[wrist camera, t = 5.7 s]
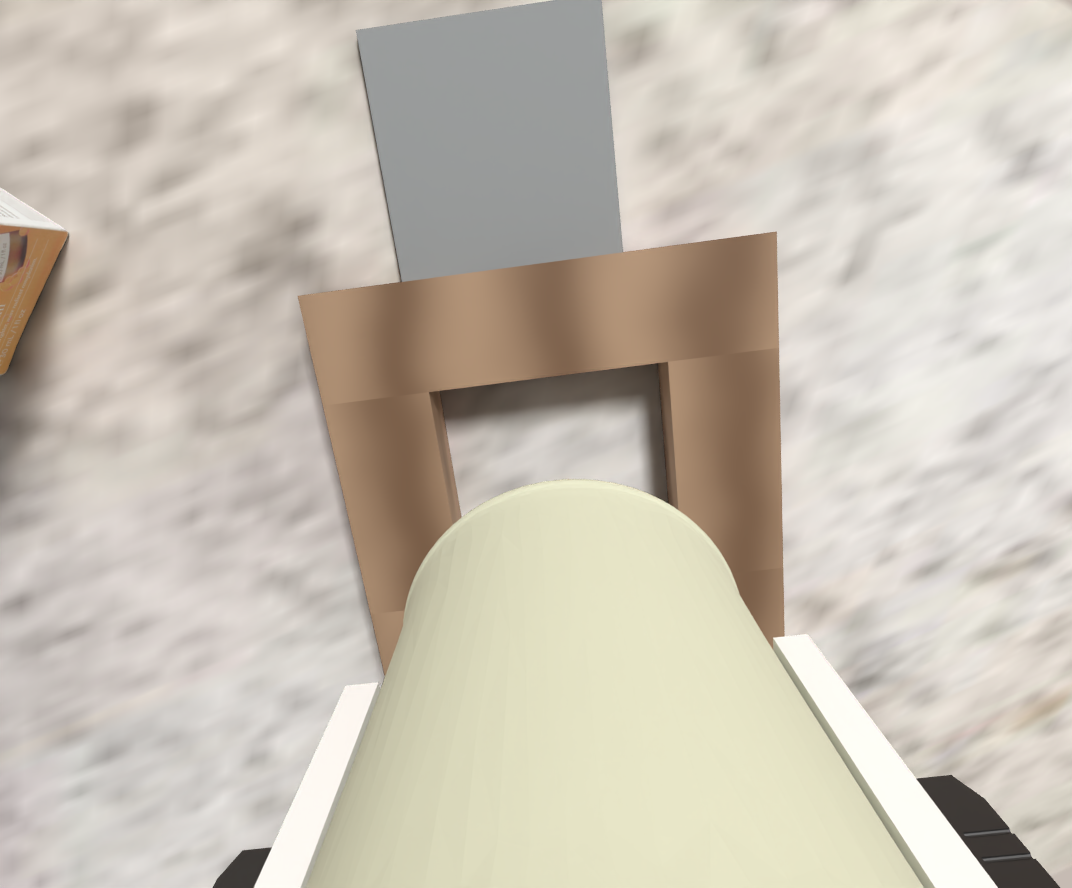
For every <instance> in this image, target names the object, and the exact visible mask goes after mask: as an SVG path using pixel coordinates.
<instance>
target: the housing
mask: <svg viewBox="0 0 1072 888" xmlns="http://www.w3.org/2000/svg"><path fill="white" fill-rule="evenodd" d="M298 299H299V304H300V308H301V312H302V317H303V321H304V326H305V330H306V334H307V339H308V343H309V347H310V352H311V356H312V360H313V365H314V369H315V374H316V378H317V382H318V387H319V391H320V395H321V400H322V404H323V408H324V413H325V417H326V422H327V426H328V430H329V435H330V439H331V443H332V448H333V452H334V456H335V461H336V465H337V470H338V474H339V478H340V483H341V487H342V491H343V496H344V500H345V504H346V509H347V513H348V518H349V522H350V526H351V531H352V535H353V539H354V544H355V548H356V552H357V557H358V561H359V566H360V570H361V574H362V579H363V583H364V587H365V592H366V596H367V600H368V605H369V609H370V614H371V618H372V622H373V627H374V631H375V635H376V640H377V644H378V648H379V653H380V657H381V662H382V666H383V670H384V675H386V673H387V670H388V667H389V664H390V662H391V659H392V656H393V653H394V650H395V648H396V645H397V642H398V639H399V636H400V633H401V630H402V627H403V619H404V612H405V607H406V602H407V598H408V594H409V591H410V588H411V585H412V582H413V580H414V577H415V575H416V573H417V571H418V569H419V567H420V565H421V563H422V562H423V560H424V558H425V557H426V555H427V554H428V552H429V551H430V550H431V548H432V547H433V546H434V544H435V543H436V542H437V541H438V540H439V538H440V537H441V536H442V535H443V534H444V533H445V532H446V531H447V530H448V529H449V528H450V527H451V526H452V525H453V524H454V523H456V522H457V521H458V520H459V519H460V518H461V512H460V506H459V501H458V495H457V489H456V483H455V478H454V472H453V466H452V460H451V455H450V449H449V443H448V438H447V432H446V426H445V420H444V415H443V409H442V403H441V397H440V392H439V391H442V390H450V389H458V388H466V387H474V386H481V385H489V384H497V383H505V382H513V381H521V380H529V379H537V378H544V377H552V376H560V375H568V374H576V373H584V372H592V371H600V370H608V369H615V368H623V367H631V366H639V365H647V364H655V363H658V371H659V384H660V398H661V411H662V425H663V439H664V452H665V466H666V479H667V493H668V504H670V505H671V506H673V507H675V508H676V509H677V510H679V511H680V512H682V513H683V514H685V515H686V516H687V517H688V518H690V519H691V520H692V521H693V522H694V523H695V524H697V525H698V526H699V527H700V528H701V529H702V530H703V531H704V532H705V533H706V534H707V535H708V537H709V538H710V539H711V540H712V541H713V543H714V544H715V545H716V547H717V548H718V549H719V551H720V552H721V554H722V556H723V557H724V559H725V561H726V562H727V564H728V566H729V568H730V570H731V573H732V575H733V578H734V580H735V583H736V585H737V588H738V591H739V595H740V596H741V598H742V600H743V601H744V603H745V605H746V606H747V608H748V610H749V611H750V613H751V615H752V616H753V618H754V620H755V621H756V623H757V625H758V626H759V628H760V630H761V631H762V633H763V635H764V636H765V638H766V640H767V641H768V643H769V644H770V646H771V648H772V649H773V638H775V637H784V587H783V536H782V484H781V432H780V381H779V329H778V278H777V232H770V233H763V234H756V235H748V236H741V237H733V238H726V239H718V240H711V241H703V242H696V243H688V244H681V245H674V246H666V247H659V248H651V249H644V250H636V251H629V252H621V253H614V254H606V255H599V256H592V257H584V258H577V259H569V260H562V261H554V262H547V263H539V264H532V265H525V266H517V267H510V268H502V269H495V270H487V271H480V272H472V273H465V274H457V275H450V276H443V277H435V278H428V279H420V280H413V281H405V282H398V283H390V284H383V285H375V286H368V287H361V288H353V289H346V290H338V291H331V292H323V293H316V294H308V295H301V296H298Z"/></svg>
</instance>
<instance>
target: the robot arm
mask: <svg viewBox="0 0 1072 888" xmlns="http://www.w3.org/2000/svg"><path fill="white" fill-rule="evenodd" d="M773 651H774V652H775V654H776V656H777V657H778V659H779V660H780V662H781V664H782V665H783V667H784V668H785V670H786V672H787V673H788V675H789V676H790V678H791V680H792V681H793V683H794V684H795V686H796V688H797V689H798V691H799V692H800V694H801V695H802V697H803V699H804V700H805V702H806V703H807V705H808V707H809V708H810V710H811V711H812V713H813V714H814V716H815V718H816V719H817V721H818V722H819V724H820V725H821V727H822V729H823V730H824V732H825V733H826V735H827V736H828V738H829V740H830V741H831V743H832V744H833V746H834V747H835V749H836V751H837V752H838V754H839V755H840V757H841V759H842V760H843V762H844V763H845V765H846V766H847V768H848V770H849V771H850V773H851V774H852V776H853V777H854V779H855V781H856V782H857V784H858V785H859V787H860V788H861V790H862V792H863V793H864V795H865V796H866V798H867V799H868V801H869V803H870V804H871V806H872V807H873V809H874V811H875V812H876V814H877V815H878V817H879V818H880V820H881V822H882V823H883V825H884V826H885V828H886V829H887V831H888V833H889V834H890V836H891V837H892V839H893V840H894V842H895V844H896V845H897V847H898V848H899V850H900V851H901V853H902V854H903V856H904V858H905V859H906V861H907V862H908V864H909V865H910V867H911V868H912V870H913V871H914V873H915V874H916V876H917V878H918V879H919V881H920V882H921V884H922V885H923V887H924V888H1060V887H1059V886H1058V885H1057V883H1056V882H1055V881H1054V880H1053V879H1052V877H1051V876H1050V875H1049V874H1048V873H1047V872H1046V870H1045V869H1044V868H1043V867H1042V866H1041V865H1040V863H1039V862H1038V861H1037V860H1036V859H1033V858H1032V857H1031V854H1030V852H1029V850H1028V849H1027V848H1026V847H1025V846H1024V845H1023V843H1022V842H1021V841H1020V840H1019V839H1018V838H1017V836H1016V835H1015V834H1012V833H1011V832H1010V830H1009V827H1008V826H1007V825H1006V823H1005V822H1004V821H1003V820H1002V819H1001V818H1000V816H999V815H998V814H997V813H996V812H995V811H994V809H993V808H992V807H991V806H990V805H989V803H988V802H987V801H986V800H985V799H984V798H983V797H981V796H980V795H979V794H977V793H976V792H974V791H973V790H972V789H970V788H969V787H967V786H966V785H964V784H963V783H962V782H960V781H959V780H957V779H956V778H955V777H953V776H952V775H947V776H937V777H928V778H918V779H916V778H915V777H914V775H913V774H912V773H911V771H910V770H909V769H908V767H907V766H906V765H905V763H904V762H903V761H902V759H901V758H900V757H899V755H898V754H897V753H896V751H895V750H894V749H893V747H892V746H891V745H890V743H889V742H888V741H887V739H886V738H885V737H884V735H883V734H882V733H881V731H880V730H879V729H878V727H877V726H876V725H875V723H874V722H873V721H872V719H871V718H870V717H869V715H868V714H867V713H866V711H865V710H864V709H863V707H862V706H861V705H860V703H859V702H858V701H857V699H856V698H855V697H854V695H853V694H852V693H851V691H850V690H849V689H848V687H847V686H846V685H845V683H844V682H843V681H842V679H841V678H840V677H839V675H838V674H837V673H836V671H835V670H834V669H833V667H832V666H831V665H830V663H829V662H828V661H827V659H826V658H825V657H824V655H823V654H822V653H821V651H820V650H819V649H818V647H817V646H816V645H815V643H814V642H813V641H812V639H811V638H810V637H809V635H808V634H802V635H793V636H784V637H775V638H773ZM379 692H380V687H379V682H375V683H366V684H357V685H348V686H345V688H344V691H343V693H342V695H341V697H340V699H339V701H338V704H337V706H336V708H335V710H334V712H333V715H332V717H331V719H330V721H329V723H328V726H327V728H326V730H325V732H324V734H323V737H322V739H321V741H320V743H319V745H318V748H317V750H316V752H315V754H314V756H313V759H312V761H311V763H310V765H309V767H308V770H307V772H306V774H305V776H304V778H303V781H302V783H301V785H300V787H299V789H298V792H297V794H296V796H295V798H294V800H293V803H292V805H291V807H290V809H289V811H288V814H287V816H286V818H285V820H284V822H283V825H282V827H281V829H280V831H279V833H278V836H277V838H276V840H275V842H274V844H273V846H272V848H262V849H253V850H243V851H242V852H241V853H240V854H239V855H238V856H237V857H236V859H235V860H234V861H233V862H232V863H231V864H230V865H229V866H228V868H227V869H226V870H225V871H224V872H223V873H222V874H221V875H220V877H219V878H218V879H217V880H216V882H215V884H214V886H213V888H306V885H307V882H308V880H309V877H310V875H311V872H312V869H313V867H314V864H315V862H316V859H317V856H318V854H319V851H320V848H321V846H322V843H323V841H324V838H325V835H326V833H327V830H328V828H329V825H330V822H331V820H332V817H333V815H334V812H335V809H336V807H337V804H338V802H339V799H340V796H341V794H342V791H343V788H344V786H345V783H346V781H347V778H348V775H349V773H350V770H351V768H352V765H353V762H354V760H355V757H356V754H357V752H358V749H359V746H360V744H361V741H362V738H363V735H364V733H365V730H366V727H367V725H368V722H369V719H370V717H371V714H372V711H373V709H374V706H375V703H376V700H377V697H378V695H379Z"/></svg>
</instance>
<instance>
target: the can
mask: <svg viewBox="0 0 1072 888" xmlns="http://www.w3.org/2000/svg"><path fill="white" fill-rule="evenodd" d="M306 888H924V887H923V885H922V884H921V882H920V881H919V879H918V878H917V876H916V874H915V873H914V871H913V870H912V868H911V867H910V865H909V864H908V862H907V861H906V859H905V858H904V856H903V854H902V853H901V851H900V850H899V848H898V847H897V845H896V844H895V842H894V840H893V839H892V837H891V836H890V834H889V833H888V831H887V829H886V828H885V826H884V825H883V823H882V822H881V820H880V818H879V817H878V815H877V814H876V812H875V811H874V809H873V807H872V806H871V804H870V803H869V801H868V799H867V798H866V796H865V795H864V793H863V792H862V790H861V788H860V787H859V785H858V784H857V782H856V781H855V779H854V777H853V776H852V774H851V773H850V771H849V770H848V768H847V766H846V765H845V763H844V762H843V760H842V759H841V757H840V755H839V754H838V752H837V751H836V749H835V747H834V746H833V744H832V743H831V741H830V740H829V738H828V736H827V735H826V733H825V732H824V730H823V729H822V727H821V725H820V724H819V722H818V721H817V719H816V718H815V716H814V714H813V713H812V711H811V710H810V708H809V707H808V705H807V703H806V702H805V700H804V699H803V697H802V695H801V694H800V692H799V691H798V689H797V688H796V686H795V684H794V683H793V681H792V680H791V678H790V676H789V675H788V673H787V672H786V670H785V668H784V667H783V665H782V664H781V662H780V660H779V659H778V657H777V656H776V654H775V652H774V651H773V649H772V648H771V646H770V644H769V643H768V641H767V640H766V638H765V636H764V635H763V633H762V631H761V630H760V628H759V626H758V625H757V623H756V621H755V620H754V618H753V616H752V615H751V613H750V611H749V610H748V608H747V606H746V605H745V603H744V601H743V600H742V598H741V596H740V595H739V591H738V588H737V585H736V583H735V580H734V578H733V575H732V573H731V570H730V568H729V566H728V564H727V562H726V561H725V559H724V557H723V556H722V554H721V552H720V551H719V549H718V548H717V547H716V545H715V544H714V543H713V541H712V540H711V539H710V538H709V537H708V535H707V534H706V533H705V532H704V531H703V530H702V529H701V528H700V527H699V526H698V525H697V524H695V523H694V522H693V521H692V520H691V519H690V518H688V517H687V516H686V515H685V514H683V513H682V512H680V511H679V510H677V509H676V508H675V507H673V506H671V505H670V504H668V503H666V502H665V501H663V500H661V499H659V498H657V497H655V496H653V495H651V494H648V493H646V492H643V491H640V490H638V489H635V488H632V487H628V486H624V485H621V484H617V483H612V482H605V481H599V480H588V479H562V480H554V481H546V482H540V483H535V484H531V485H526V486H523V487H520V488H517V489H514V490H511V491H508V492H505V493H503V494H501V495H499V496H496V497H494V498H492V499H490V500H488V501H486V502H484V503H482V504H481V505H479V506H478V507H476V508H474V509H473V510H471V511H470V512H468V513H467V514H466V515H464V516H463V517H462V518H460V519H459V520H458V521H457V522H456V523H454V524H453V525H452V526H451V527H450V528H449V529H448V530H447V531H446V532H445V533H444V534H443V535H442V536H441V537H440V538H439V540H438V541H437V542H436V543H435V544H434V546H433V547H432V548H431V550H430V551H429V552H428V554H427V555H426V557H425V558H424V560H423V562H422V563H421V565H420V567H419V569H418V571H417V573H416V575H415V577H414V580H413V582H412V585H411V588H410V591H409V594H408V598H407V602H406V607H405V612H404V619H403V627H402V630H401V633H400V636H399V639H398V642H397V645H396V648H395V650H394V653H393V656H392V659H391V662H390V664H389V667H388V670H387V673H386V675H385V678H384V681H383V684H382V686H381V689H380V692H379V695H378V697H377V700H376V703H375V706H374V709H373V711H372V714H371V717H370V719H369V722H368V725H367V727H366V730H365V733H364V735H363V738H362V741H361V744H360V746H359V749H358V752H357V754H356V757H355V760H354V762H353V765H352V768H351V770H350V773H349V775H348V778H347V781H346V783H345V786H344V788H343V791H342V794H341V796H340V799H339V802H338V804H337V807H336V809H335V812H334V815H333V817H332V820H331V822H330V825H329V828H328V830H327V833H326V835H325V838H324V841H323V843H322V846H321V848H320V851H319V854H318V856H317V859H316V862H315V864H314V867H313V869H312V872H311V875H310V877H309V880H308V882H307V885H306Z"/></svg>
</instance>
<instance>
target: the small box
mask: <svg viewBox="0 0 1072 888" xmlns="http://www.w3.org/2000/svg"><path fill="white" fill-rule="evenodd" d="M67 237H68V232H67V230H66V229H64V228H63V227H61V226H60V225H58V224H57V223H55V222H53V221H52V220H50V219H49V218H47V217H46V216H44V215H42V214H41V213H39V212H38V211H36V210H35V209H33V208H32V207H30V206H28V205H27V204H25V203H24V202H22V201H21V200H19V199H17V198H16V197H14V196H13V195H11V194H10V193H8V192H6V191H5V190H3V189H2V188H0V375H2V374H5V373H6V371H7V370H8V367H9V364H10V362H11V359H12V357H13V354H14V351H15V349H16V346H17V344H18V341H19V339H20V337H21V334H22V332H23V330H24V328H25V326H26V323H27V321H28V319H29V316H30V315H31V313H32V310H33V308H34V306H35V304H36V302H37V300H38V297H39V295H40V293H41V291H42V289H43V287H44V285H45V282H46V280H47V278H48V276H49V274H50V272H51V270H52V267H53V265H54V263H55V261H56V259H57V256H58V254H59V252H60V250H61V249H62V248H63V245H64V243H65V241H66V239H67Z"/></svg>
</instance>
